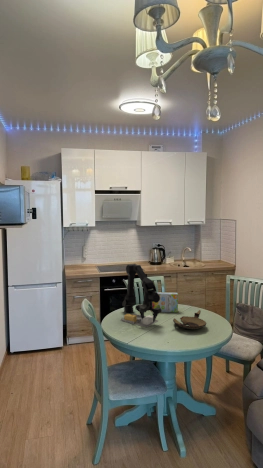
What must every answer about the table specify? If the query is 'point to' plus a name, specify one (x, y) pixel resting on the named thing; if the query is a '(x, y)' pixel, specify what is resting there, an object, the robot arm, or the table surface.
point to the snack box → (167, 302)
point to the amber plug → (130, 317)
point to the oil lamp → (191, 321)
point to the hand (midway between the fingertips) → (148, 320)
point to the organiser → (139, 321)
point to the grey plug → (148, 320)
